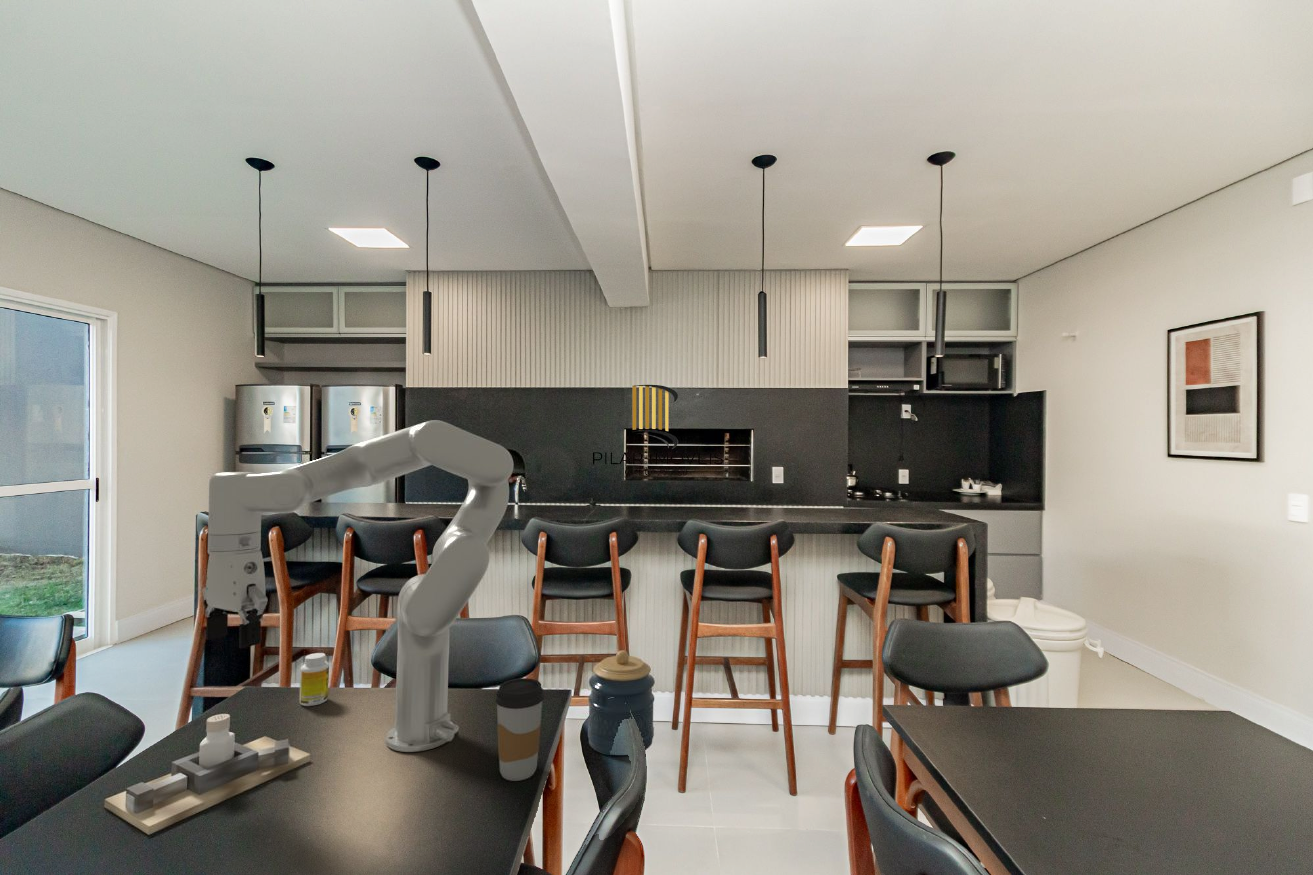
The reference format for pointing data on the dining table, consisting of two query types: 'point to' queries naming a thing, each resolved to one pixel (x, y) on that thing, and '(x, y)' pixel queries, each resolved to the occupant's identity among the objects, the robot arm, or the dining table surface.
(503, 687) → the coffee cup
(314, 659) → the supplement bottle
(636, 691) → the canister
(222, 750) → the pepper shaker
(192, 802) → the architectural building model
